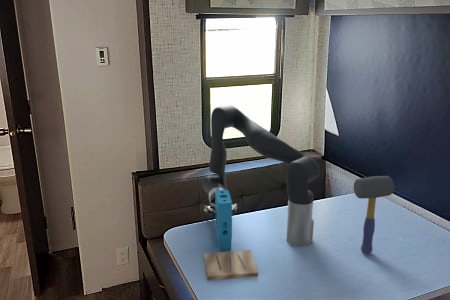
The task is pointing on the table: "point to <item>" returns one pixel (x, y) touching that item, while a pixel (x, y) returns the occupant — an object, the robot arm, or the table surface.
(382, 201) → the table surface
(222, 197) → the block
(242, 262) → the oak board
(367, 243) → the rubber mallet
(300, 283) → the table surface
